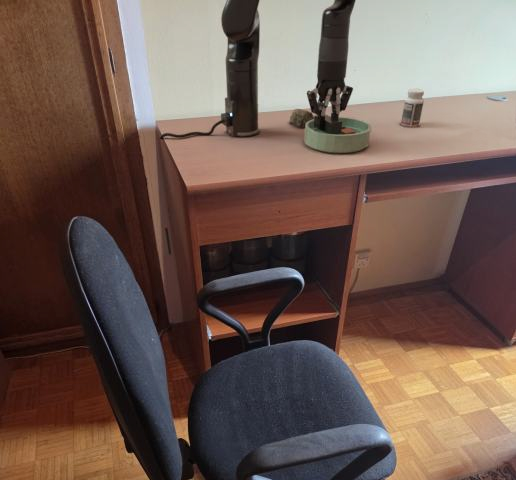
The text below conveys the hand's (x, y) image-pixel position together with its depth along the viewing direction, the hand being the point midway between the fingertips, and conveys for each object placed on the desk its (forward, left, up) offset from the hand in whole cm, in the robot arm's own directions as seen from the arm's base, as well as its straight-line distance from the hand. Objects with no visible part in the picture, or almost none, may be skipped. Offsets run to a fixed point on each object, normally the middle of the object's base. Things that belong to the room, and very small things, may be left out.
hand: (327, 128), depth 127 cm
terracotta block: (+5, -3, -4) cm, 7 cm away
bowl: (+4, 0, -5) cm, 6 cm away
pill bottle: (+36, +6, -5) cm, 36 cm away
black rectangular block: (0, 0, 0) cm, 0 cm away
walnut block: (+5, +2, -4) cm, 7 cm away
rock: (+5, +22, -5) cm, 23 cm away
